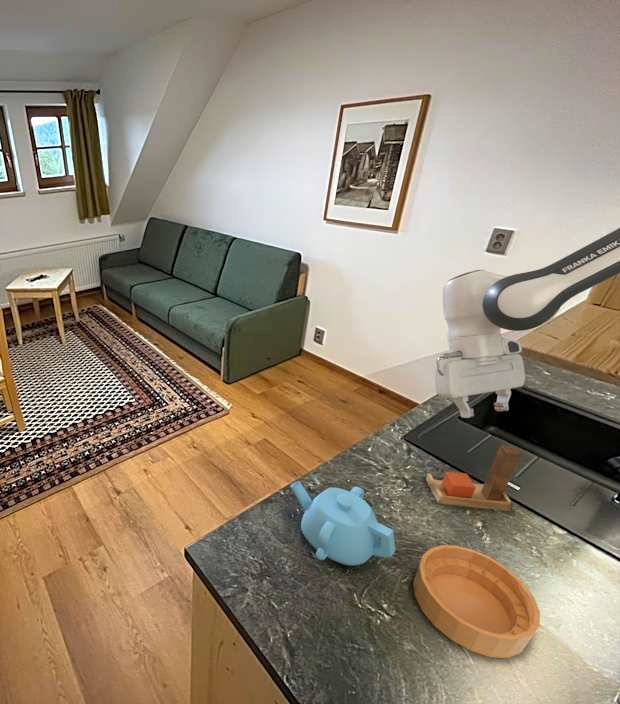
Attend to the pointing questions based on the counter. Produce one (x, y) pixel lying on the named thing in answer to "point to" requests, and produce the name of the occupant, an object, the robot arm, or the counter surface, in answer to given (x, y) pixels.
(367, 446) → the counter surface
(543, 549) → the counter surface
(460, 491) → the block
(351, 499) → the teapot
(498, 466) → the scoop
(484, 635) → the bowl
